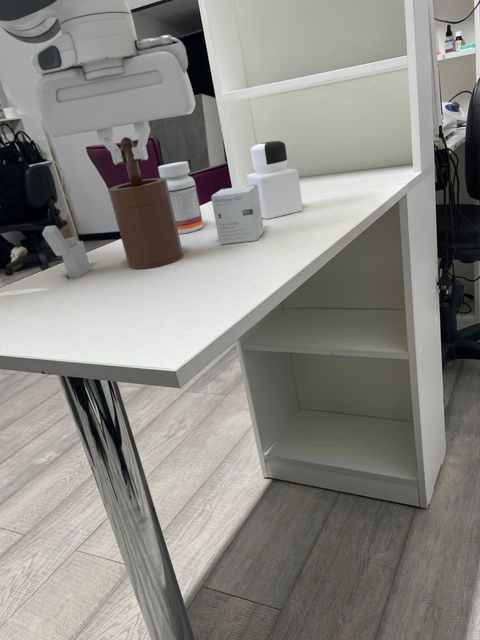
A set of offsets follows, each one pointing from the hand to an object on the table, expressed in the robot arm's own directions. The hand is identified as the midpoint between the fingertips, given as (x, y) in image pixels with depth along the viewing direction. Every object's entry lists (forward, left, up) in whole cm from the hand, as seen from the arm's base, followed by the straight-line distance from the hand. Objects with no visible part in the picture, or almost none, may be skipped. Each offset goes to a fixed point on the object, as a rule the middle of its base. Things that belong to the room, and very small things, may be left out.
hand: (131, 162), depth 74 cm
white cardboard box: (+12, +7, -14) cm, 20 cm away
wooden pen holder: (0, 0, -14) cm, 14 cm away
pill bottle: (0, +19, -14) cm, 24 cm away
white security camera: (+16, +23, -14) cm, 31 cm away
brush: (0, 0, -11) cm, 11 cm away
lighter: (-11, -3, -14) cm, 18 cm away
